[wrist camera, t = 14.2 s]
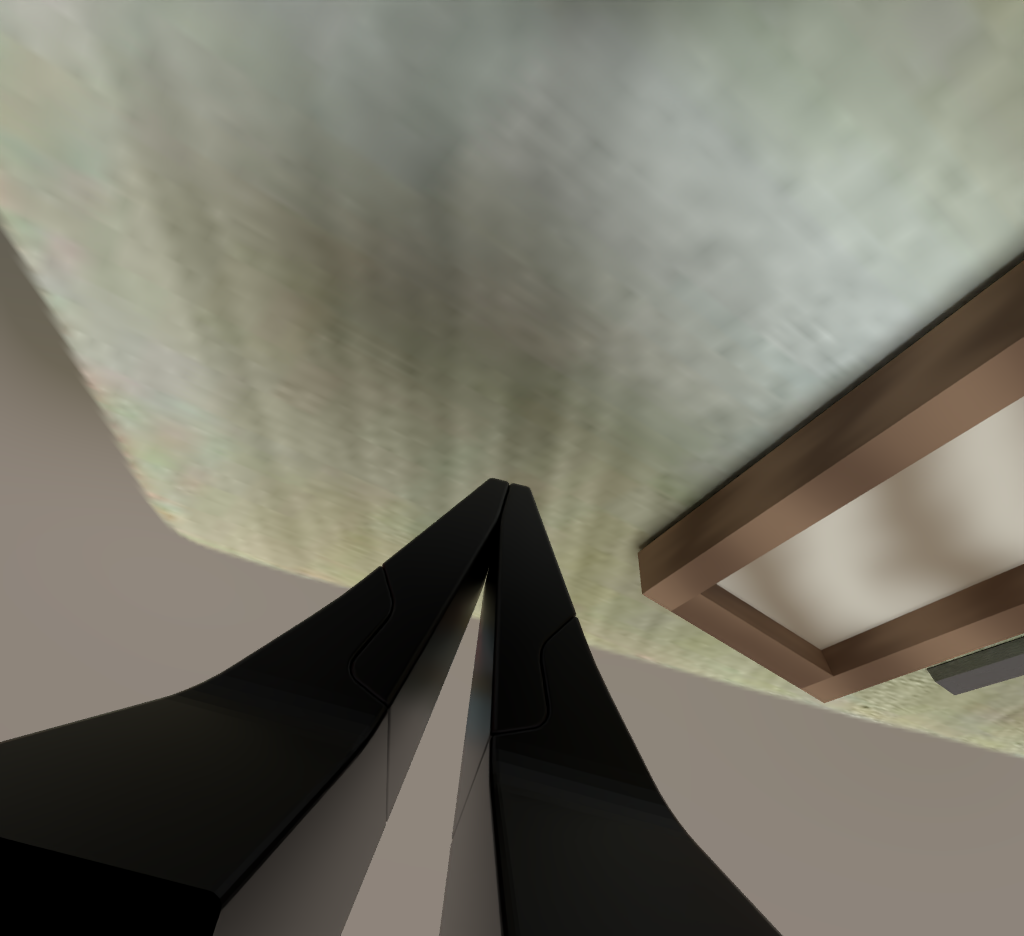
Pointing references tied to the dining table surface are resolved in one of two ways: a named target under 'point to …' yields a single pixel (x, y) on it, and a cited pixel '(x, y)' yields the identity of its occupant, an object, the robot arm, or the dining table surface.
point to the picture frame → (873, 519)
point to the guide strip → (981, 668)
